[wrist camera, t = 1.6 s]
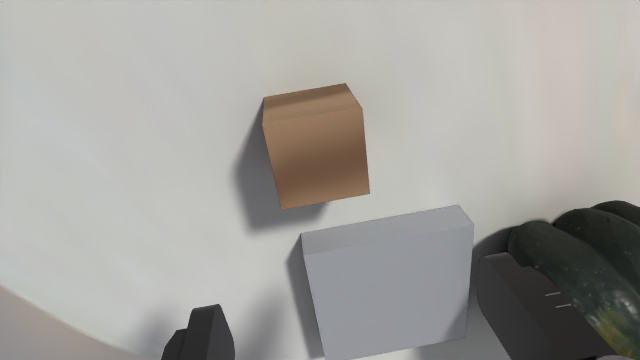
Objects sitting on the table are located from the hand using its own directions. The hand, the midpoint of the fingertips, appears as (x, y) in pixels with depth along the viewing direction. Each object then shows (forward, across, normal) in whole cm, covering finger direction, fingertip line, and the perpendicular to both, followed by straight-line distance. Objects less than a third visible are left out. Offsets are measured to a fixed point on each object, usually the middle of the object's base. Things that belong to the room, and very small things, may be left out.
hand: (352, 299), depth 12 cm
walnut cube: (+14, 0, 0) cm, 14 cm away
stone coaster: (+14, -4, +14) cm, 20 cm away
